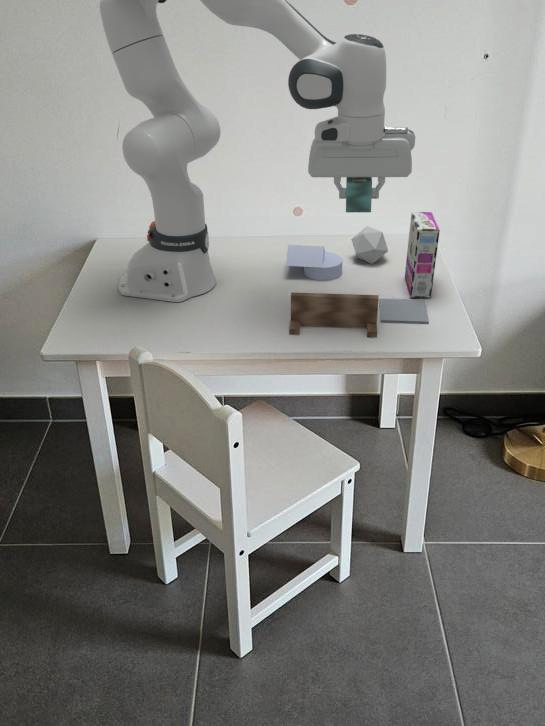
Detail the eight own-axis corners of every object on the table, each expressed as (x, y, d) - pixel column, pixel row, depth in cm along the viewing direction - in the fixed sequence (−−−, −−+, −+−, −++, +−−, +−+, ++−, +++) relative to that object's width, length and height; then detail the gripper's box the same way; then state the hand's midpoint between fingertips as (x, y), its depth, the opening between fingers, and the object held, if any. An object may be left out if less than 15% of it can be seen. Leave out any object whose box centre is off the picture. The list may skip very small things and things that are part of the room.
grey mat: (380, 322, 155) (381, 320, 155) (379, 300, 164) (379, 298, 163) (428, 323, 154) (428, 321, 154) (424, 301, 163) (425, 299, 163)
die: (393, 263, 182) (388, 225, 183) (381, 258, 174) (376, 218, 175) (362, 269, 186) (358, 232, 186) (350, 265, 178) (345, 226, 179)
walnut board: (289, 334, 151) (289, 304, 148) (291, 321, 156) (291, 292, 152) (376, 337, 150) (379, 307, 146) (376, 324, 154) (378, 295, 151)
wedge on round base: (285, 278, 174) (340, 281, 172) (285, 252, 170) (341, 255, 169) (290, 262, 181) (342, 265, 180) (290, 237, 178) (344, 239, 176)
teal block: (345, 212, 146) (346, 181, 143) (345, 203, 151) (346, 174, 147) (371, 212, 146) (372, 181, 143) (370, 203, 150) (371, 174, 147)
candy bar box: (432, 298, 164) (440, 229, 155) (410, 298, 164) (417, 229, 155) (425, 277, 173) (432, 210, 165) (404, 277, 174) (410, 210, 165)
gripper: (414, 122, 141) (410, 192, 149) (308, 124, 143) (309, 192, 151) (417, 131, 136) (412, 203, 143) (307, 132, 138) (307, 203, 145)
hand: (358, 197), depth 147 cm, fingers closed on teal block, 5 cm apart
